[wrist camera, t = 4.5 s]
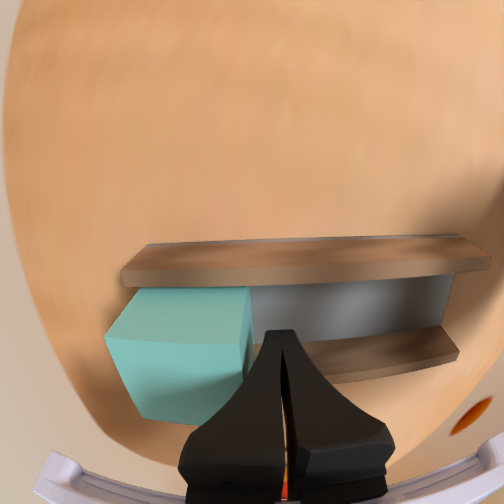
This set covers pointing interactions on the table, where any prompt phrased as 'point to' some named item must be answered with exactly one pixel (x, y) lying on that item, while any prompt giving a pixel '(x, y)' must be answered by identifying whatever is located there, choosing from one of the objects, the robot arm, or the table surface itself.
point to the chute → (332, 293)
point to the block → (183, 350)
